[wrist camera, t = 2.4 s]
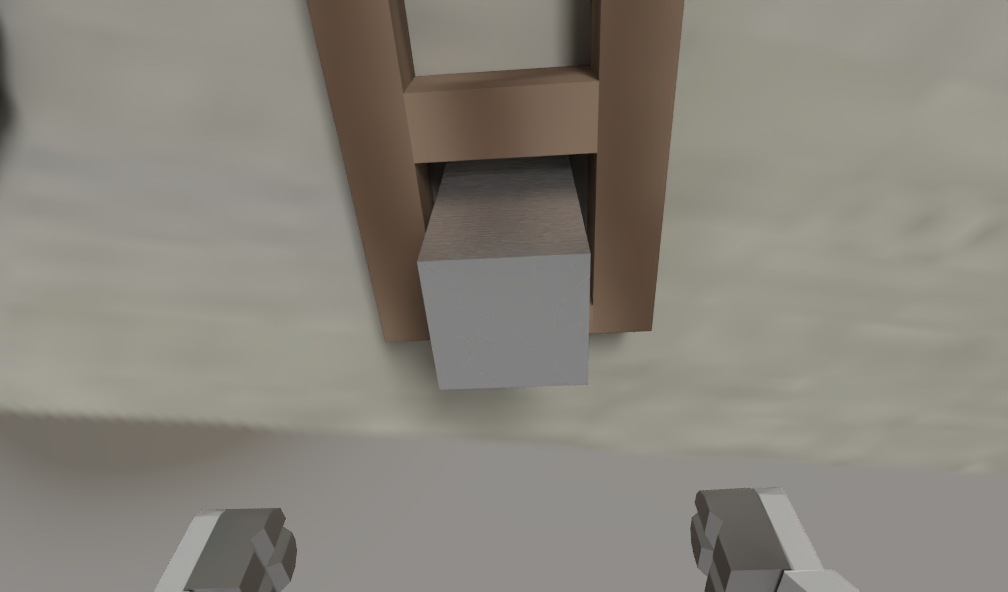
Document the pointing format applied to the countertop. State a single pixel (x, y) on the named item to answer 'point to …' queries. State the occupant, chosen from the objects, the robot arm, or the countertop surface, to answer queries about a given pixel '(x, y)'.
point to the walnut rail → (505, 143)
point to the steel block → (507, 275)
